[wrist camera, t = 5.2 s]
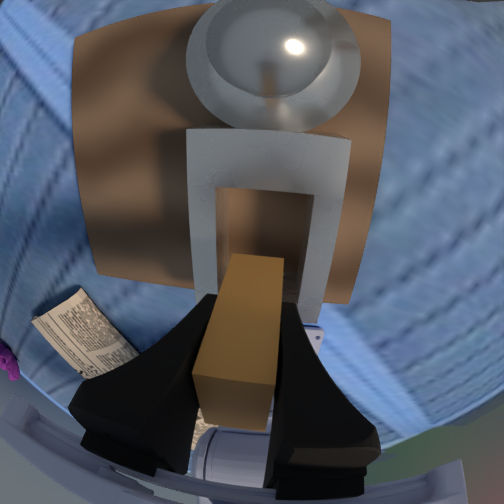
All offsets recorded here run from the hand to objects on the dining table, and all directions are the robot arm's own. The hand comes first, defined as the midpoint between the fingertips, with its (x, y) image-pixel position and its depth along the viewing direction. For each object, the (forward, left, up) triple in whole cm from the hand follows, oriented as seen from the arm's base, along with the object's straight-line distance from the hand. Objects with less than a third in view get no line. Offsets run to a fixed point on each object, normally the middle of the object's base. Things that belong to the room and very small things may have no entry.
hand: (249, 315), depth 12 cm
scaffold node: (+6, 0, -8) cm, 10 cm away
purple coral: (-36, +60, -10) cm, 71 cm away
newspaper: (-29, +18, -10) cm, 36 cm away
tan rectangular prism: (-1, 0, -3) cm, 3 cm away
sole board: (+5, +4, -10) cm, 12 cm away
